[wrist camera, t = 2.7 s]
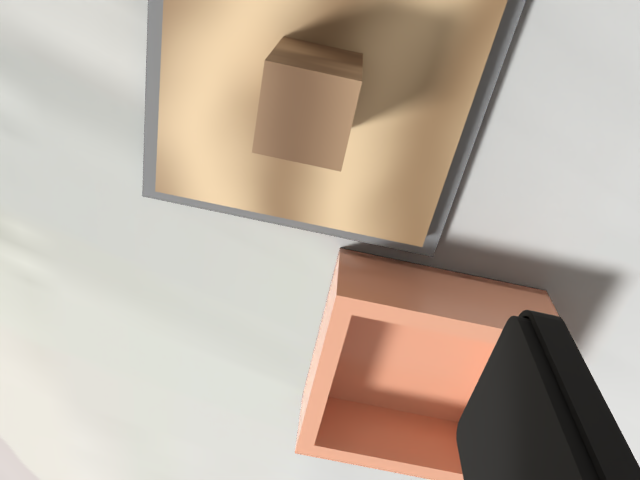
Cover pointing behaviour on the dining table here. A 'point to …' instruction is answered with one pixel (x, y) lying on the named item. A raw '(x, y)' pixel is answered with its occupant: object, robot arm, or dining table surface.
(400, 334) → the dish
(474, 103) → the mat
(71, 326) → the dining table surface
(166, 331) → the dining table surface
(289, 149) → the lid
